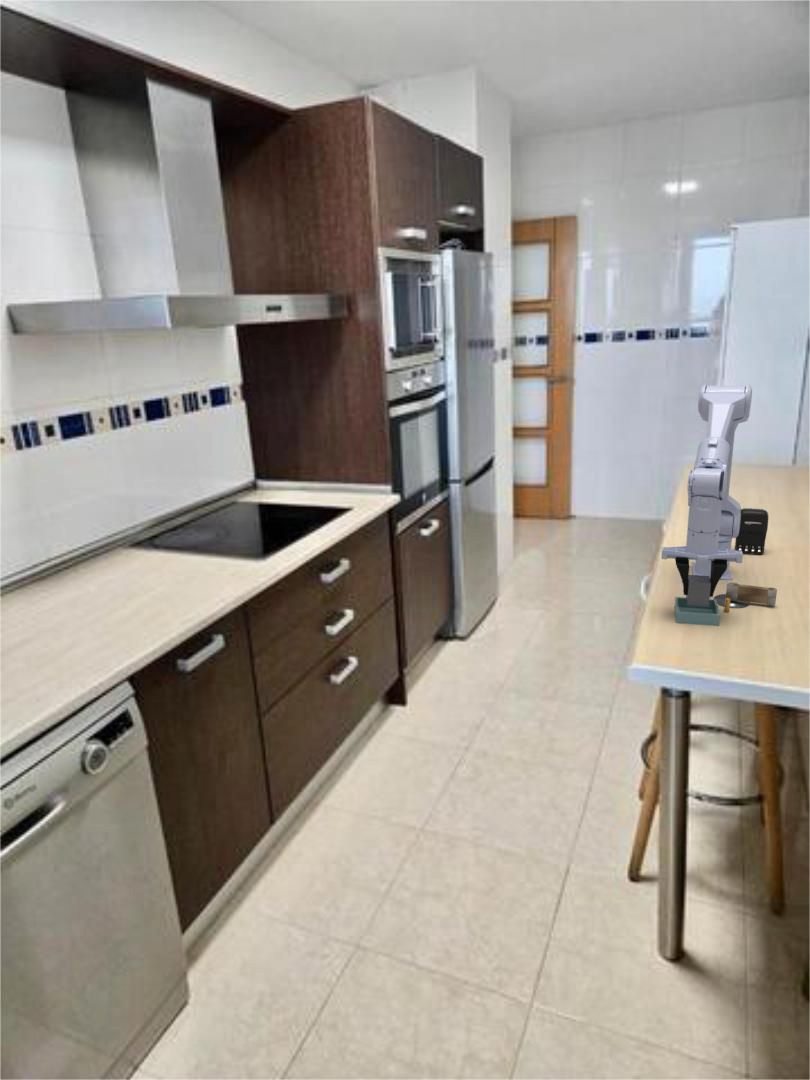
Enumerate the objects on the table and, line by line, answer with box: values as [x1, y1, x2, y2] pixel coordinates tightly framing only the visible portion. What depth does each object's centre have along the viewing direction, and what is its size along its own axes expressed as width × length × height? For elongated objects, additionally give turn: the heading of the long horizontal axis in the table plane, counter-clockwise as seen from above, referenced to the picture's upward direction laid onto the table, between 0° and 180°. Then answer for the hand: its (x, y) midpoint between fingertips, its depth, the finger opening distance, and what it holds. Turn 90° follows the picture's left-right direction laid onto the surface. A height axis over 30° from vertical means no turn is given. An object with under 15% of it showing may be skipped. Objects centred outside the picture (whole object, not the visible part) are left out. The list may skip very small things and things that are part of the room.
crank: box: [725, 582, 778, 606], centre depth 144 cm, size 9×2×3 cm, turn 62°
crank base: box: [713, 593, 751, 614], centre depth 145 cm, size 10×7×3 cm
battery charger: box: [733, 507, 769, 556], centre depth 172 cm, size 7×4×11 cm, turn 67°
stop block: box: [685, 574, 711, 607], centre depth 139 cm, size 4×4×5 cm
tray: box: [674, 596, 721, 627], centre depth 140 cm, size 8×8×2 cm
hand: (697, 594), depth 139 cm, fingers closed on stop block, 4 cm apart
